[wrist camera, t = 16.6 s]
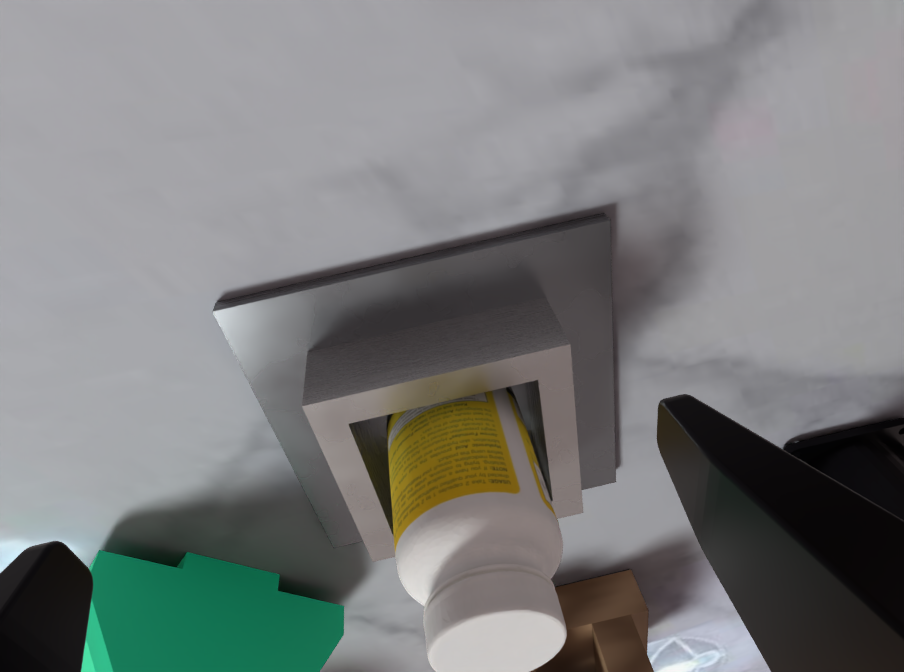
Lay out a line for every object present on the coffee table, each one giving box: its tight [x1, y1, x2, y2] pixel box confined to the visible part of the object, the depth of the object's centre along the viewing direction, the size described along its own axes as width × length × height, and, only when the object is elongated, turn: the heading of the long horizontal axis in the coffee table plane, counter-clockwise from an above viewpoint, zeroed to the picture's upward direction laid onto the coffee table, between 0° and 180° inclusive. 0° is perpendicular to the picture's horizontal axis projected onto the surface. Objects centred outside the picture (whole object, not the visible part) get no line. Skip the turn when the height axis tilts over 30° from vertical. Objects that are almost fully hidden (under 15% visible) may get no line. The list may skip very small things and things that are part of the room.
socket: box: [213, 213, 616, 562], centre depth 23 cm, size 14×14×4 cm
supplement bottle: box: [386, 386, 567, 672], centre depth 20 cm, size 5×5×10 cm
